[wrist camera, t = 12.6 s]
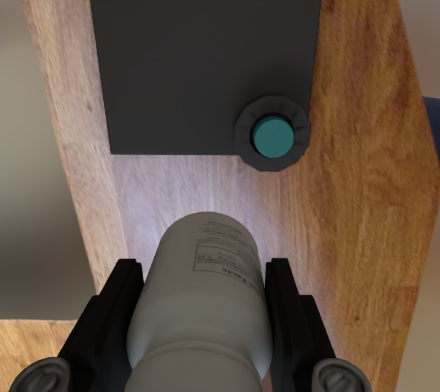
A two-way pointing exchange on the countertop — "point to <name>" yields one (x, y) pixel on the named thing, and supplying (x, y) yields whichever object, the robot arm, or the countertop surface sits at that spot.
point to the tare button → (273, 136)
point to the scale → (205, 74)
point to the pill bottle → (201, 312)
